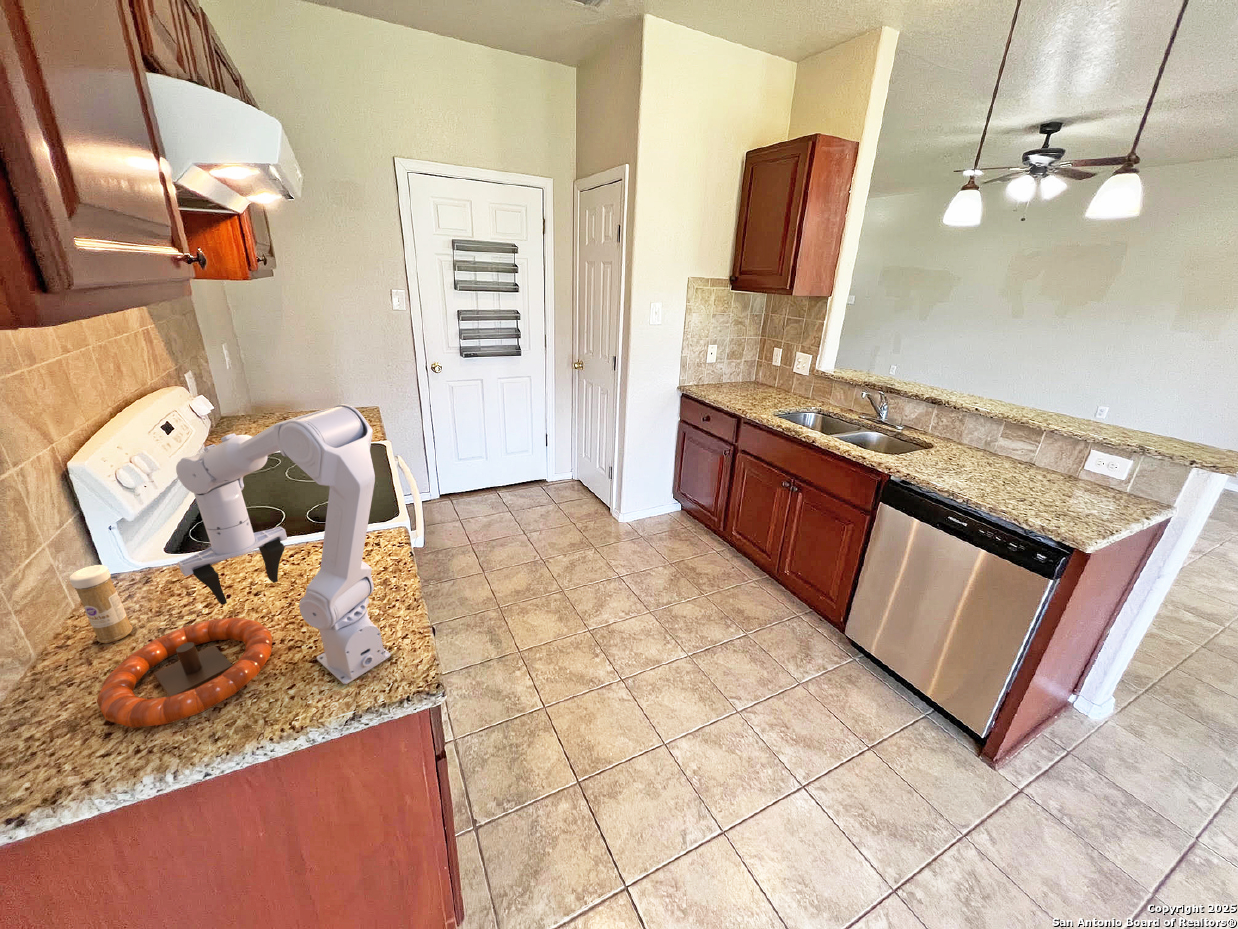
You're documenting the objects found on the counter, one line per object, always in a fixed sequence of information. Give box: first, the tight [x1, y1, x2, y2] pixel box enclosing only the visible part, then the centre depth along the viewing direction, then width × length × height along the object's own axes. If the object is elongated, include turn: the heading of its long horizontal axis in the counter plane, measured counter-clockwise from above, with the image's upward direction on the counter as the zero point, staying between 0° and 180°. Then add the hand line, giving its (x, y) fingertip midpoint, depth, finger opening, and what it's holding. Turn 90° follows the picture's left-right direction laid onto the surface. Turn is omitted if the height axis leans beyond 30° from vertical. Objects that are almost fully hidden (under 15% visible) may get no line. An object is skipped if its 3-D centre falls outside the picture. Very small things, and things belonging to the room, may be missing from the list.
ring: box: [96, 617, 273, 728], centre depth 79 cm, size 21×21×4 cm
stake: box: [153, 642, 234, 697], centre depth 78 cm, size 8×8×6 cm
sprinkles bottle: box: [68, 564, 134, 644], centre depth 84 cm, size 5×5×13 cm
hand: (248, 590), depth 85 cm, fingers open, 7 cm apart
